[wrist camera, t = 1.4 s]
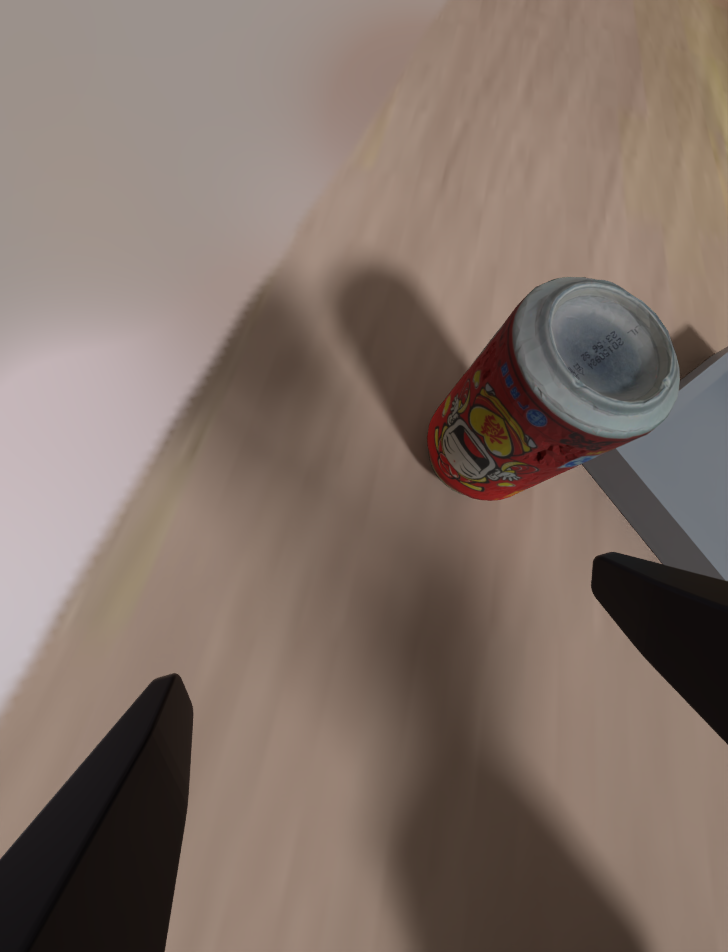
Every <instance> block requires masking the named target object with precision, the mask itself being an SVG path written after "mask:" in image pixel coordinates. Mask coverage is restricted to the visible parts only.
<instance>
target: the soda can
mask: <svg viewBox="0 0 728 952" xmlns="http://www.w3.org/2000/svg"><path fill="white" fill-rule="evenodd" d="M679 383H680V374H679V365H678V360H677V356H676V353H675V350H674V347H673V344H672V341H671V338H670V335H669V332H668V330H667V329H666V328H665V326H664V325H663V323H662V322H661V320H660V319H659V318H658V316H657V315H656V313H655V312H653V311H652V310H651V309H650V308H649V307H648V306H647V305H646V304H645V303H644V302H642V301H641V300H639V299H638V298H636V297H634V296H633V295H631V294H630V293H628V292H627V291H626V290H624V289H623V288H621V287H620V286H618V285H616V284H614V283H612V282H609V281H606V280H596V279H590V278H585V277H563V278H558V279H554V280H551V281H548V282H546V283H544V284H542V285H540V286H537V287H535V288H534V289H533V290H532V291H531V292H530V293H529V294H528V295H527V296H526V297H525V298H524V299H523V300H522V301H521V302H520V303H519V304H518V306H517V307H516V308H515V309H514V311H513V312H512V313H511V315H510V316H509V317H508V319H507V320H506V321H505V323H504V324H503V325H502V327H501V328H500V329H499V330H498V331H497V333H496V334H495V335H494V336H493V338H492V339H491V340H490V342H489V343H488V344H487V346H486V347H485V348H484V349H483V351H482V352H481V353H480V355H479V356H478V357H477V359H476V360H475V361H474V362H473V364H472V365H471V366H470V368H469V369H468V370H467V371H466V373H465V374H464V375H463V377H462V378H461V379H460V380H459V382H458V383H457V384H456V385H455V387H454V388H453V389H452V390H451V392H450V393H449V395H448V396H447V397H446V398H445V400H444V401H443V402H442V404H441V405H440V406H439V407H438V409H437V410H436V412H435V414H434V415H433V417H432V419H431V422H430V424H429V429H428V435H427V443H428V449H429V456H430V461H431V465H432V467H433V469H434V471H435V473H436V475H437V476H438V477H439V479H440V480H441V481H442V482H443V483H444V484H445V485H446V486H448V487H449V488H451V489H452V490H454V491H456V492H458V493H460V494H463V495H466V496H469V497H471V498H474V499H479V500H488V501H492V500H501V499H504V498H508V497H511V496H513V495H515V494H517V493H519V492H521V491H523V490H525V489H528V488H530V487H532V486H534V485H537V484H539V483H541V482H543V481H545V480H547V479H550V478H552V477H554V476H556V475H558V474H560V473H563V472H565V471H567V470H570V469H572V468H574V467H576V466H578V465H581V464H583V463H585V462H587V461H589V460H591V459H594V458H596V457H598V456H600V455H602V454H604V453H606V452H609V451H611V450H613V449H615V448H617V447H620V446H622V445H625V444H627V443H629V442H631V441H633V440H635V439H638V438H640V437H643V436H645V435H647V434H649V433H650V432H651V431H652V430H654V429H655V428H656V427H657V426H658V425H660V424H661V423H662V422H663V421H664V420H665V419H666V418H667V417H668V415H669V413H670V411H671V409H672V407H673V405H674V403H675V401H676V399H677V397H678V392H679Z"/></svg>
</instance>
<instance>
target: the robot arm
mask: <svg viewBox="0 0 728 952" xmlns="http://www.w3.org/2000/svg"><path fill="white" fill-rule="evenodd" d="M591 588H592V592H593V594H594V596H595V597H596V599H597V600H598V601H599V602H600V604H601V605H602V606H603V607H604V609H605V610H606V611H607V612H608V614H609V615H610V616H611V617H612V619H613V620H614V621H615V622H616V624H617V625H618V626H619V627H620V628H621V630H622V631H623V632H624V633H625V635H626V636H627V637H628V638H629V640H630V641H631V642H632V643H633V645H634V646H635V647H636V648H637V649H638V650H639V652H640V653H641V654H642V655H643V656H644V657H645V659H646V660H647V661H648V662H649V663H650V664H651V665H652V666H653V667H654V668H655V669H656V670H657V671H658V672H659V673H660V674H661V676H662V677H663V678H664V679H665V680H666V681H667V682H668V683H669V684H670V685H671V686H672V687H673V688H674V689H675V690H676V691H677V692H678V693H679V694H680V695H681V696H682V697H683V698H684V699H685V701H686V702H687V703H688V704H689V705H690V706H691V707H692V708H693V709H694V710H695V711H696V712H697V713H698V714H699V715H700V716H701V717H702V718H703V719H704V720H705V721H706V722H707V723H708V725H709V726H710V727H711V728H712V729H713V730H714V731H715V732H716V733H717V734H718V735H719V736H720V737H721V738H722V739H723V740H724V741H725V742H726V743H727V744H728V581H725V580H721V579H717V578H714V577H710V576H706V575H702V574H698V573H694V572H690V571H686V570H682V569H679V568H675V567H671V566H667V565H663V564H659V563H655V562H651V561H647V560H644V559H640V558H636V557H632V556H628V555H624V554H620V553H616V552H609V553H605V554H602V555H598V556H596V557H595V559H594V560H593V568H592V580H591ZM192 730H193V706H192V703H191V700H190V698H189V695H188V693H187V691H186V688H185V686H184V684H183V681H182V679H181V677H180V676H179V675H178V674H176V673H173V674H170V675H166V676H162V677H159V678H156V679H154V680H153V681H152V682H151V683H150V684H149V685H148V687H147V688H146V689H145V690H144V691H143V692H142V694H141V695H140V696H139V697H138V698H137V699H136V701H135V702H134V703H133V704H132V705H131V707H130V708H129V709H128V710H127V711H126V712H125V714H124V715H123V716H122V717H121V718H120V719H119V721H118V722H117V723H116V724H115V725H114V726H113V728H112V729H111V730H110V731H109V732H108V733H107V735H106V736H105V737H104V738H103V739H102V740H101V742H100V743H99V744H98V745H97V746H96V748H95V749H94V750H93V751H92V752H91V753H90V755H89V756H88V757H87V758H86V759H85V760H84V762H83V763H82V764H81V765H80V766H79V767H78V769H77V770H76V771H75V772H74V773H73V774H72V776H71V777H70V778H69V779H68V780H67V781H66V783H65V784H64V785H63V786H62V787H61V789H60V790H59V791H58V792H57V793H56V794H55V796H54V797H53V798H52V799H51V800H50V801H49V803H48V804H47V805H46V806H45V807H44V808H43V810H42V811H41V812H40V813H39V814H38V815H37V817H36V818H35V819H34V820H33V821H32V823H31V824H30V825H29V826H28V827H27V828H26V830H25V831H24V832H23V833H22V834H21V835H20V837H19V838H18V839H17V840H16V841H15V842H14V844H13V845H12V846H11V847H10V848H9V849H8V851H7V852H6V853H5V854H4V855H3V856H2V858H1V859H0V952H165V946H166V940H167V933H168V927H169V921H170V915H171V909H172V902H173V896H174V890H175V884H176V877H177V871H178V865H179V859H180V853H181V846H182V840H183V834H184V828H185V821H186V814H187V807H188V795H189V780H190V764H191V747H192Z"/></svg>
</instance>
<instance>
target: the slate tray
mask: <svg viewBox="0 0 728 952" xmlns="http://www.w3.org/2000/svg"><path fill="white" fill-rule="evenodd" d="M582 465H583V466H584V467H585V468H586V470H587V471H588V472H589V473H590V474H591V476H592V477H593V478H594V479H595V481H596V482H597V483H598V484H599V486H600V487H601V488H602V489H603V490H604V492H605V493H606V494H607V495H608V497H609V498H610V499H611V500H612V502H613V503H614V504H615V505H616V507H617V508H618V509H619V510H620V511H621V513H622V514H623V515H624V516H625V518H626V519H627V520H628V521H629V523H630V524H631V525H632V526H633V528H634V529H635V530H636V531H637V532H638V534H639V535H640V536H641V537H642V539H643V540H644V541H645V542H646V544H647V545H648V546H649V547H650V549H651V550H652V551H653V552H654V553H655V555H656V556H657V557H658V558H659V560H660V561H661V562H662V563H663V565H667V566H671V567H675V568H679V569H682V570H686V571H690V572H694V573H698V574H702V575H706V576H710V577H714V578H717V579H721V580H725V581H728V347H726V348H724V349H723V350H721V351H719V352H717V353H716V354H714V355H712V356H711V357H710V358H708V359H707V360H706V361H705V362H703V363H702V364H701V365H699V366H698V367H697V368H696V369H694V370H693V371H692V372H690V373H689V374H688V375H687V376H685V377H684V378H683V379H682V380H680V383H679V392H678V397H677V399H676V401H675V403H674V405H673V407H672V409H671V411H670V413H669V415H668V417H667V418H666V419H665V420H664V421H663V422H662V423H661V424H660V425H658V426H657V427H656V428H655V429H654V430H652V431H651V432H650V433H649V434H647V435H645V436H643V437H640V438H638V439H635V440H633V441H631V442H629V443H627V444H625V445H622V446H620V447H617V448H615V449H613V450H611V451H609V452H606V453H604V454H602V455H600V456H598V457H596V458H594V459H591V460H589V461H587V462H585V463H583V464H582Z"/></svg>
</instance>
